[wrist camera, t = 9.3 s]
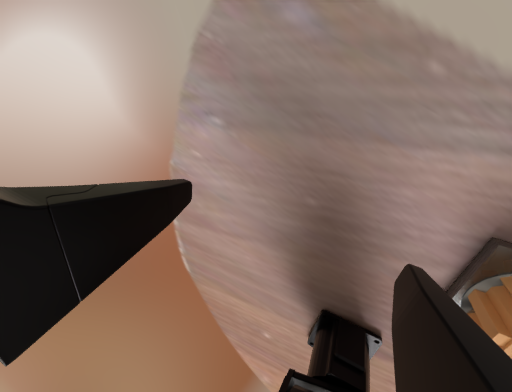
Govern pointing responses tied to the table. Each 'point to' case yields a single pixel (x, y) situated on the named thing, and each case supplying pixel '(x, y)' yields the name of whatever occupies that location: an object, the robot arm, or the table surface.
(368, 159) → the table surface
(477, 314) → the gear
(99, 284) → the robot arm
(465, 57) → the table surface
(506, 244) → the carrier
